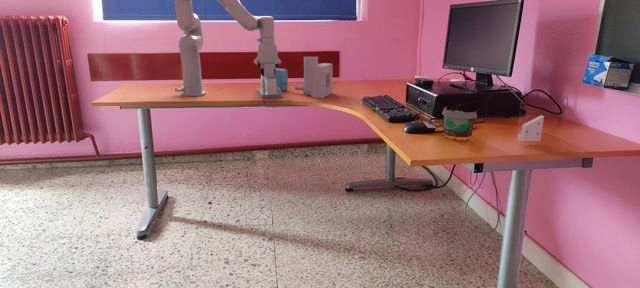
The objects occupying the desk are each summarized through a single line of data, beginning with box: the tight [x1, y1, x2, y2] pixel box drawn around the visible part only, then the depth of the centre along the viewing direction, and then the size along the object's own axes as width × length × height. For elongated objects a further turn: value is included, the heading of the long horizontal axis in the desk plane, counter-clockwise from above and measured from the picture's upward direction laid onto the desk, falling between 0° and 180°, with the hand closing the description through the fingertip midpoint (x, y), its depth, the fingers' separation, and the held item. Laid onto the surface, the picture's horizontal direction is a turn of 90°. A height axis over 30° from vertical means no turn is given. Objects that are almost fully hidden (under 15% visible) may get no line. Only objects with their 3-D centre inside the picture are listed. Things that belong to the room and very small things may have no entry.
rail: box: [256, 74, 282, 100], centre depth 233 cm, size 10×20×11 cm, turn 16°
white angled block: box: [517, 114, 545, 142], centre depth 145 cm, size 4×10×9 cm
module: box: [262, 63, 274, 79], centre depth 231 cm, size 5×8×8 cm, turn 16°
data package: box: [274, 67, 289, 92], centre depth 250 cm, size 12×4×12 cm, turn 48°
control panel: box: [295, 56, 334, 99], centre depth 234 cm, size 16×19×20 cm
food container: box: [441, 106, 478, 137], centre depth 151 cm, size 12×6×10 cm, turn 45°
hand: (268, 75), depth 232 cm, fingers closed on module, 5 cm apart
